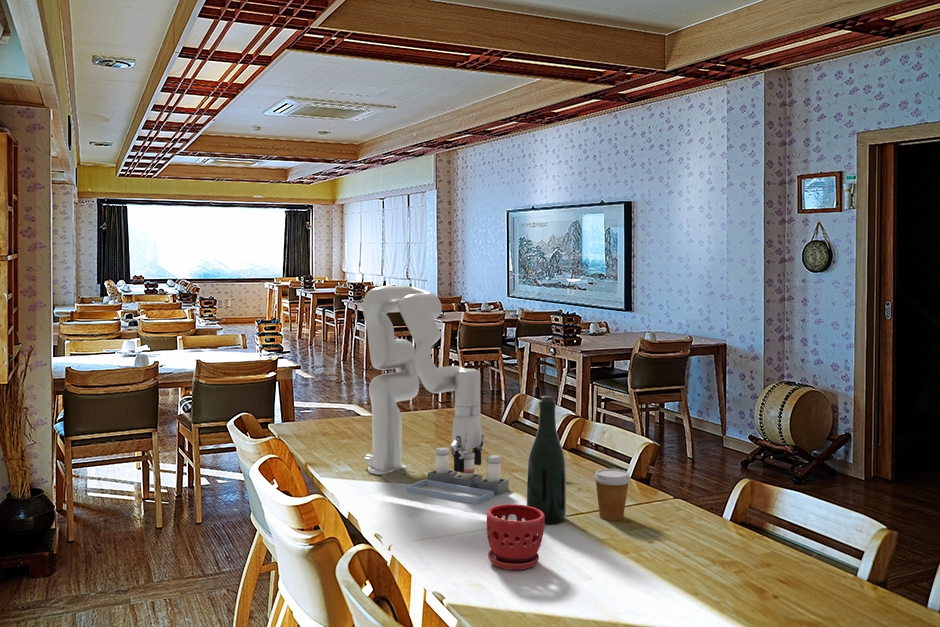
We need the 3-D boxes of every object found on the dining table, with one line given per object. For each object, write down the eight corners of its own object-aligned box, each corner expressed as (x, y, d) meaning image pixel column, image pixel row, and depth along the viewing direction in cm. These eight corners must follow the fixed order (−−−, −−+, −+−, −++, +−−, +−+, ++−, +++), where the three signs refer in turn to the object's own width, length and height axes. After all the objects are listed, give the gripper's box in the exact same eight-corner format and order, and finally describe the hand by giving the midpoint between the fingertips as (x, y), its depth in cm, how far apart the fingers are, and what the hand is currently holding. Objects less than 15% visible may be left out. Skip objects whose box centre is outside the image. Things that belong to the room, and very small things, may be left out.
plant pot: (501, 577, 177) (502, 523, 176) (477, 557, 189) (477, 506, 188) (554, 569, 182) (555, 516, 181) (527, 549, 194) (527, 500, 193)
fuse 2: (483, 491, 237) (483, 457, 236) (491, 487, 240) (491, 454, 240) (496, 493, 235) (496, 459, 234) (503, 490, 238) (503, 456, 238)
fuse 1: (432, 482, 246) (432, 449, 246) (440, 479, 250) (440, 446, 249) (444, 484, 244) (444, 451, 243) (451, 481, 248) (451, 448, 247)
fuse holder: (425, 488, 245) (425, 473, 245) (440, 481, 252) (440, 467, 252) (496, 501, 233) (496, 485, 232) (510, 494, 239) (510, 479, 239)
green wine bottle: (519, 515, 219) (520, 394, 217) (553, 511, 223) (555, 391, 221) (538, 527, 210) (539, 400, 207) (573, 522, 214) (574, 397, 212)
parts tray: (406, 496, 237) (406, 486, 237) (424, 489, 244) (424, 479, 244) (477, 509, 224) (477, 499, 224) (494, 501, 232) (494, 491, 232)
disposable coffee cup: (608, 524, 212) (608, 479, 211) (586, 514, 221) (587, 470, 220) (637, 519, 216) (637, 474, 216) (614, 509, 225) (615, 466, 224)
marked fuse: (457, 486, 242) (457, 453, 241) (465, 483, 245) (465, 450, 244) (469, 488, 239) (469, 455, 239) (477, 485, 243) (477, 452, 242)
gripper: (472, 405, 250) (472, 460, 251) (440, 414, 235) (441, 472, 236) (493, 407, 246) (493, 463, 247) (462, 416, 231) (462, 476, 233)
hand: (467, 468), depth 242 cm, fingers open, 9 cm apart
